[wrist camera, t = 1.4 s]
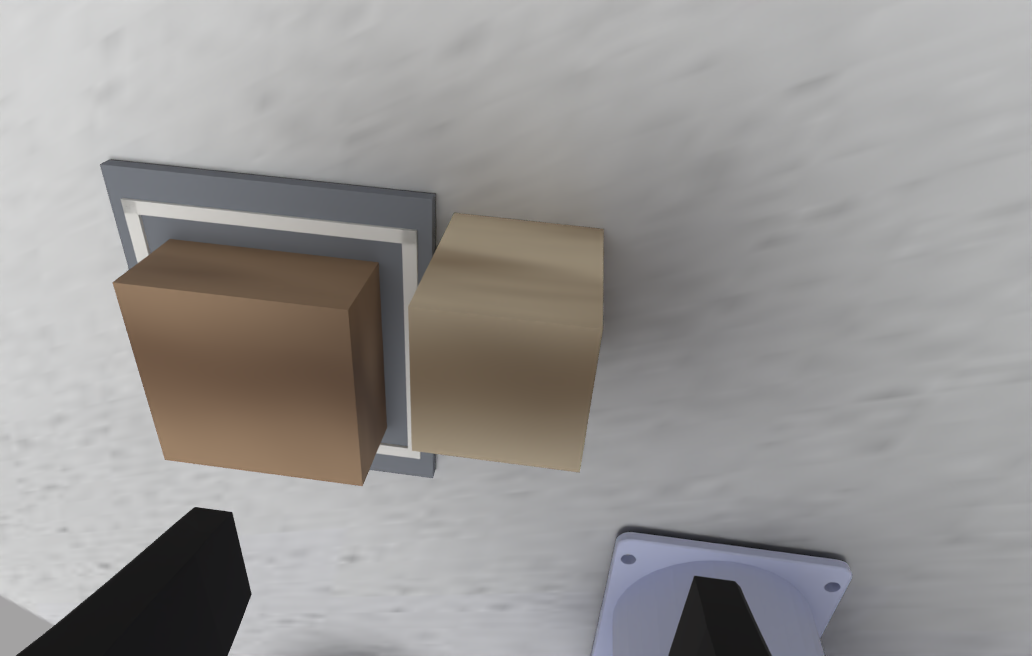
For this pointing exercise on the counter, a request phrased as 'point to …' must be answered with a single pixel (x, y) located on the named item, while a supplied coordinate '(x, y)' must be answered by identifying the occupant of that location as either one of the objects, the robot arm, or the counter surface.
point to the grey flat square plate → (295, 248)
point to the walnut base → (260, 358)
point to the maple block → (507, 342)
